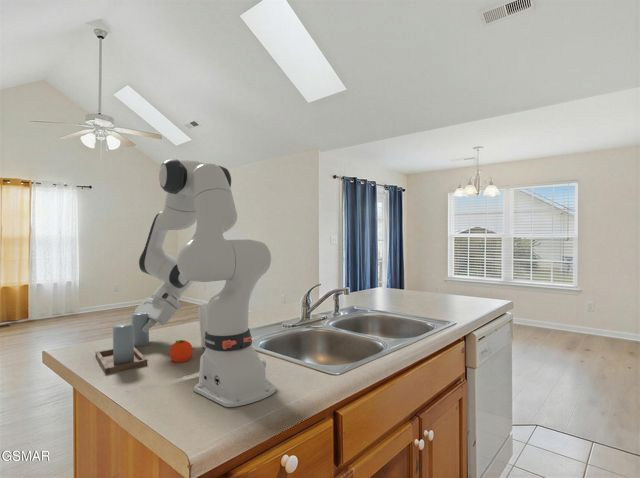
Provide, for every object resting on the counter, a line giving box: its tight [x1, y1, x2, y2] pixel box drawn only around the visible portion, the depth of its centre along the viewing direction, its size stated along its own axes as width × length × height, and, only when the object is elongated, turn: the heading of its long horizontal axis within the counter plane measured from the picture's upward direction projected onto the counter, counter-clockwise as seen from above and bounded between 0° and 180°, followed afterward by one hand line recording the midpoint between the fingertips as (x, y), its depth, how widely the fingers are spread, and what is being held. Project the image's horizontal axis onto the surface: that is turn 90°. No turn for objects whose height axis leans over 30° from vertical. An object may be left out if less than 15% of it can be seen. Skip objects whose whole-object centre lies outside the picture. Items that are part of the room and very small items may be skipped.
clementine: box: [169, 339, 194, 363], centre depth 114 cm, size 8×7×7 cm
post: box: [131, 312, 150, 348], centre depth 130 cm, size 6×6×12 cm
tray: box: [95, 347, 148, 375], centre depth 114 cm, size 19×11×2 cm, turn 39°
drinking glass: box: [198, 303, 208, 349], centre depth 130 cm, size 7×7×15 cm
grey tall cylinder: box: [112, 322, 134, 366], centre depth 110 cm, size 6×6×12 cm
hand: (138, 329), depth 129 cm, fingers closed on post, 5 cm apart
